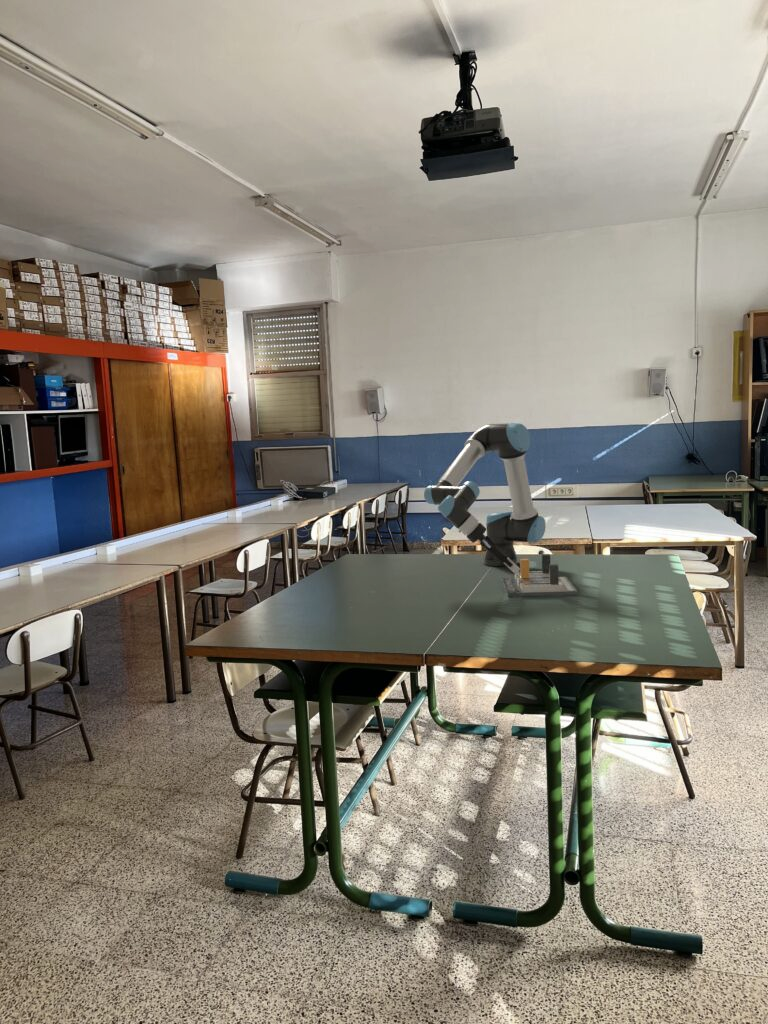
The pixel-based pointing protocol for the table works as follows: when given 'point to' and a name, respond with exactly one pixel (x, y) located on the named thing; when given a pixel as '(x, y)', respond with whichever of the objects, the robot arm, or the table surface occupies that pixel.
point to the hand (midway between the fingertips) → (517, 571)
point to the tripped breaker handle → (524, 568)
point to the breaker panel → (539, 582)
